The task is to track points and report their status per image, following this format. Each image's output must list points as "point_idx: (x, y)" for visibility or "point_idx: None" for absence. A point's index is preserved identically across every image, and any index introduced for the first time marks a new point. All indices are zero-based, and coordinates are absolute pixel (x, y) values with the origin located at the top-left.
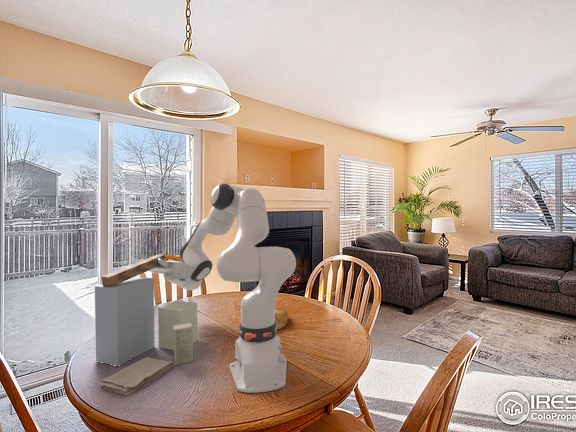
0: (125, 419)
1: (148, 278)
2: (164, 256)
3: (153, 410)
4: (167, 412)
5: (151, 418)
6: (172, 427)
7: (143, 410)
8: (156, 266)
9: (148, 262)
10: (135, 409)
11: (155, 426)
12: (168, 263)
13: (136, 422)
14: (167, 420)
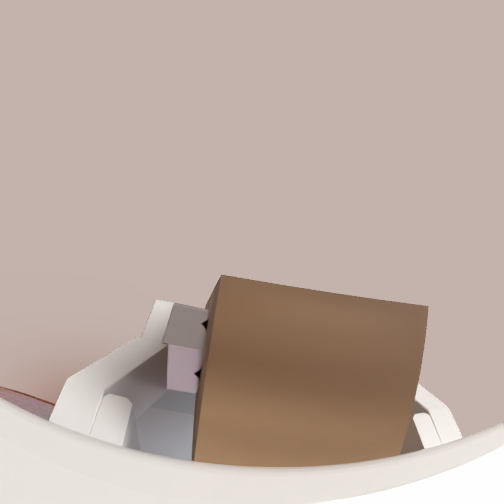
0: (54, 406)
1: (162, 402)
2: (215, 326)
3: (27, 409)
4: (11, 402)
5: (26, 400)
6: (3, 387)
7: (39, 411)
8: (195, 397)
9: (207, 309)
10: (50, 415)
11: (20, 392)
12: (66, 417)
13: (40, 400)
14: (9, 394)
